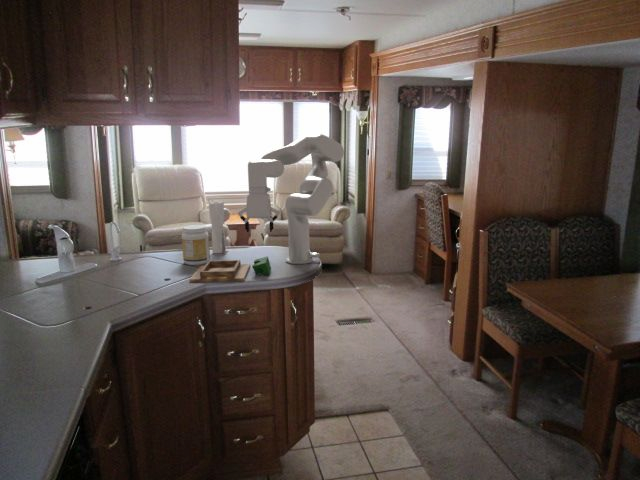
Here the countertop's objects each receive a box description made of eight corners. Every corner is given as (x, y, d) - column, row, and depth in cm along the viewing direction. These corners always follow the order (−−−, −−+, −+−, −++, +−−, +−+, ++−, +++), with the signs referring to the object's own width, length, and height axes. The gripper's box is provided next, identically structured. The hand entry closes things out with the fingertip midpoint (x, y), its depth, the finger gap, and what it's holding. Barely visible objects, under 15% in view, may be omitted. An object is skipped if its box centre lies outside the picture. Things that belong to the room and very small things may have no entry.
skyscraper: (208, 254, 246) (205, 199, 240) (213, 251, 254) (209, 197, 248) (225, 254, 245) (222, 198, 239) (229, 251, 253) (226, 196, 247)
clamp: (259, 280, 216) (255, 260, 218) (273, 276, 216) (268, 256, 218) (254, 277, 204) (249, 256, 206) (268, 273, 204) (263, 252, 206)
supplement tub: (190, 258, 238) (188, 224, 234) (214, 259, 235) (212, 224, 232) (178, 265, 226) (176, 229, 222) (203, 266, 224) (201, 229, 220)
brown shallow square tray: (250, 266, 221) (249, 258, 221) (244, 281, 200) (243, 272, 199) (201, 267, 221) (200, 259, 220) (189, 282, 199) (188, 273, 199)
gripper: (279, 189, 208) (280, 229, 212) (238, 190, 208) (240, 230, 211) (278, 191, 201) (279, 232, 204) (235, 192, 200) (237, 233, 204)
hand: (259, 231), depth 208 cm, fingers open, 9 cm apart
